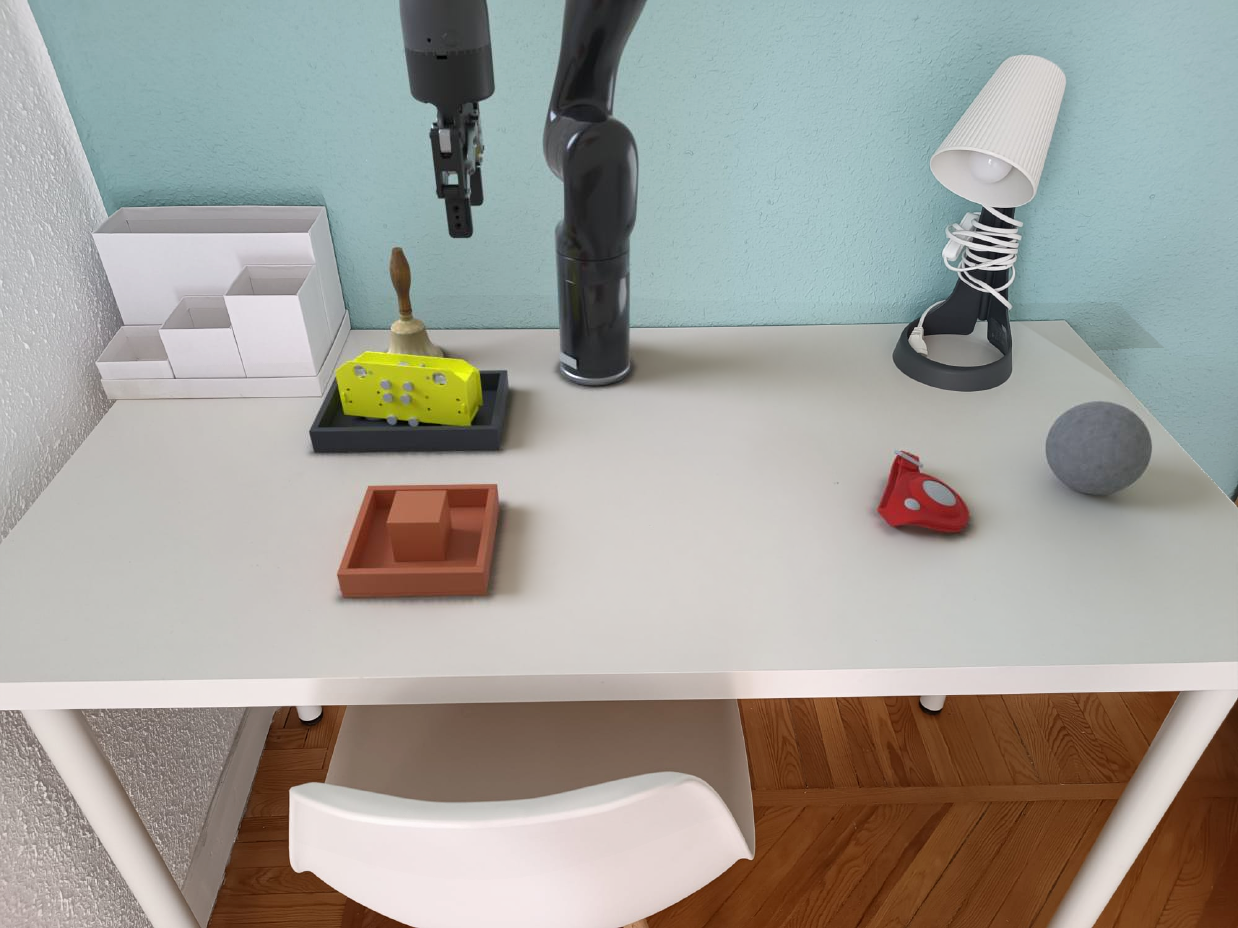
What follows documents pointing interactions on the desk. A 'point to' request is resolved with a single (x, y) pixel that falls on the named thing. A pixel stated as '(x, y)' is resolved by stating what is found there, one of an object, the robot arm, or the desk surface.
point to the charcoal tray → (380, 436)
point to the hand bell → (407, 314)
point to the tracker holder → (920, 498)
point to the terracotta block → (420, 526)
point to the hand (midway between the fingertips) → (467, 220)
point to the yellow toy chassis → (410, 389)
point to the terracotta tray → (459, 575)
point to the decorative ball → (1098, 447)
